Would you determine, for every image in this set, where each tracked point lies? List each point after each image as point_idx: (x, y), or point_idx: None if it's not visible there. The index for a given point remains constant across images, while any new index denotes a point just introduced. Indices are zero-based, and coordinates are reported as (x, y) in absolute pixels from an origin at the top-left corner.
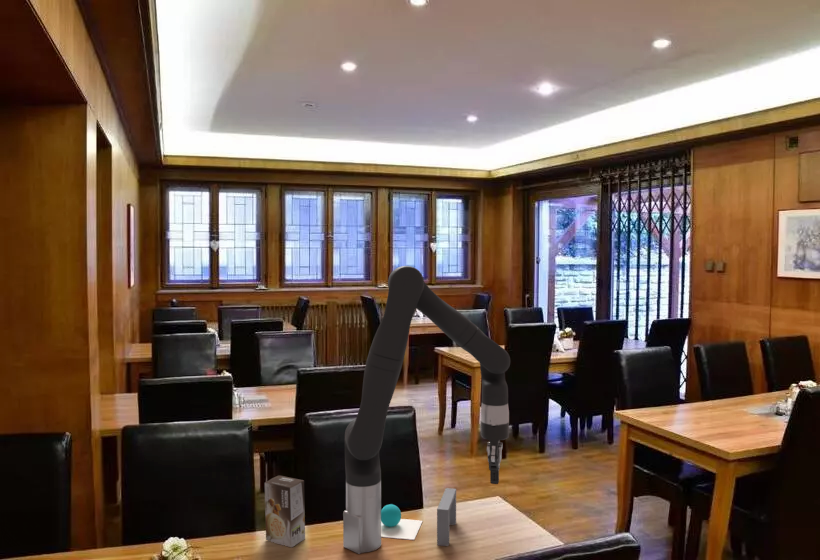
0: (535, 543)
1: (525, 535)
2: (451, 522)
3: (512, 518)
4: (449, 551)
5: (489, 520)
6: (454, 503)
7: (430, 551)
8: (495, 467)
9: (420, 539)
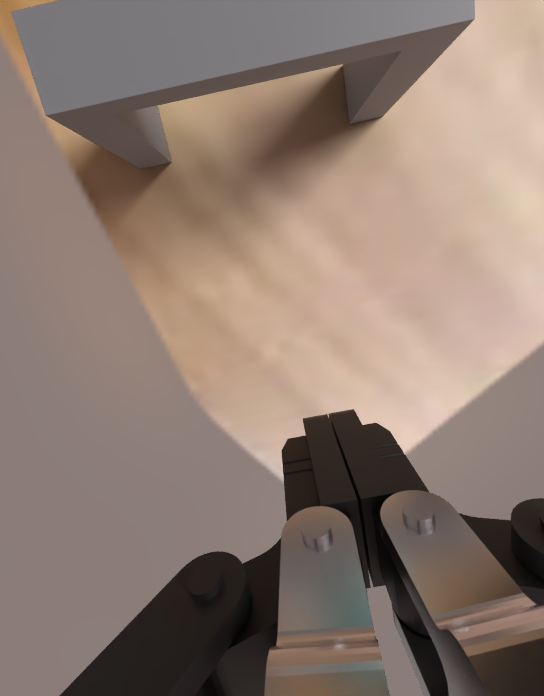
0: None
1: None
2: (348, 99)
3: (484, 344)
4: (102, 190)
5: (442, 261)
6: (381, 72)
7: None
8: (199, 690)
9: None
